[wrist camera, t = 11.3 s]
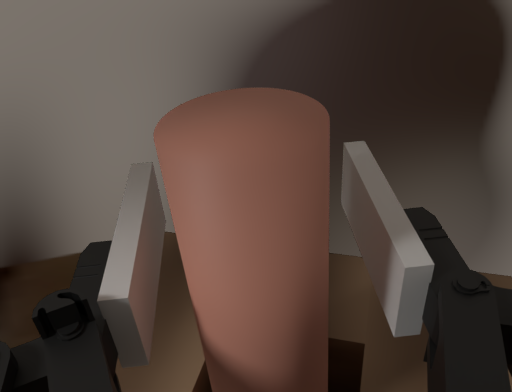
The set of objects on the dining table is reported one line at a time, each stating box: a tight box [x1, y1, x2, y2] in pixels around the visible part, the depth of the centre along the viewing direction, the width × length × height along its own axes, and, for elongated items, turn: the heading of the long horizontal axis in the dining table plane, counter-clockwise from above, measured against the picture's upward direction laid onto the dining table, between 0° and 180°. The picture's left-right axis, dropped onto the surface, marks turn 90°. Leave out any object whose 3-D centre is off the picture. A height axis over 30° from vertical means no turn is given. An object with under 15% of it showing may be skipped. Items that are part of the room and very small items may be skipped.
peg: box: [154, 88, 330, 392], centre depth 15 cm, size 4×4×15 cm
